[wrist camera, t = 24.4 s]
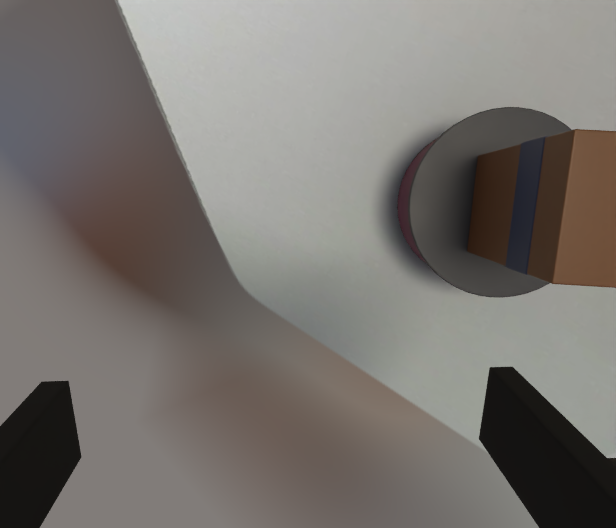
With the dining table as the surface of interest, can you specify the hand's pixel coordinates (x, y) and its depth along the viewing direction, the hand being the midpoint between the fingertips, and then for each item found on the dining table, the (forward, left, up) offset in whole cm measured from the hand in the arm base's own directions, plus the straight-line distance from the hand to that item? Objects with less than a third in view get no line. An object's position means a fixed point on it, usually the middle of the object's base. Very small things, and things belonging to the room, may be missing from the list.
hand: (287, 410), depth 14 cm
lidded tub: (+15, 0, -23) cm, 27 cm away
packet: (+15, 0, -17) cm, 22 cm away
